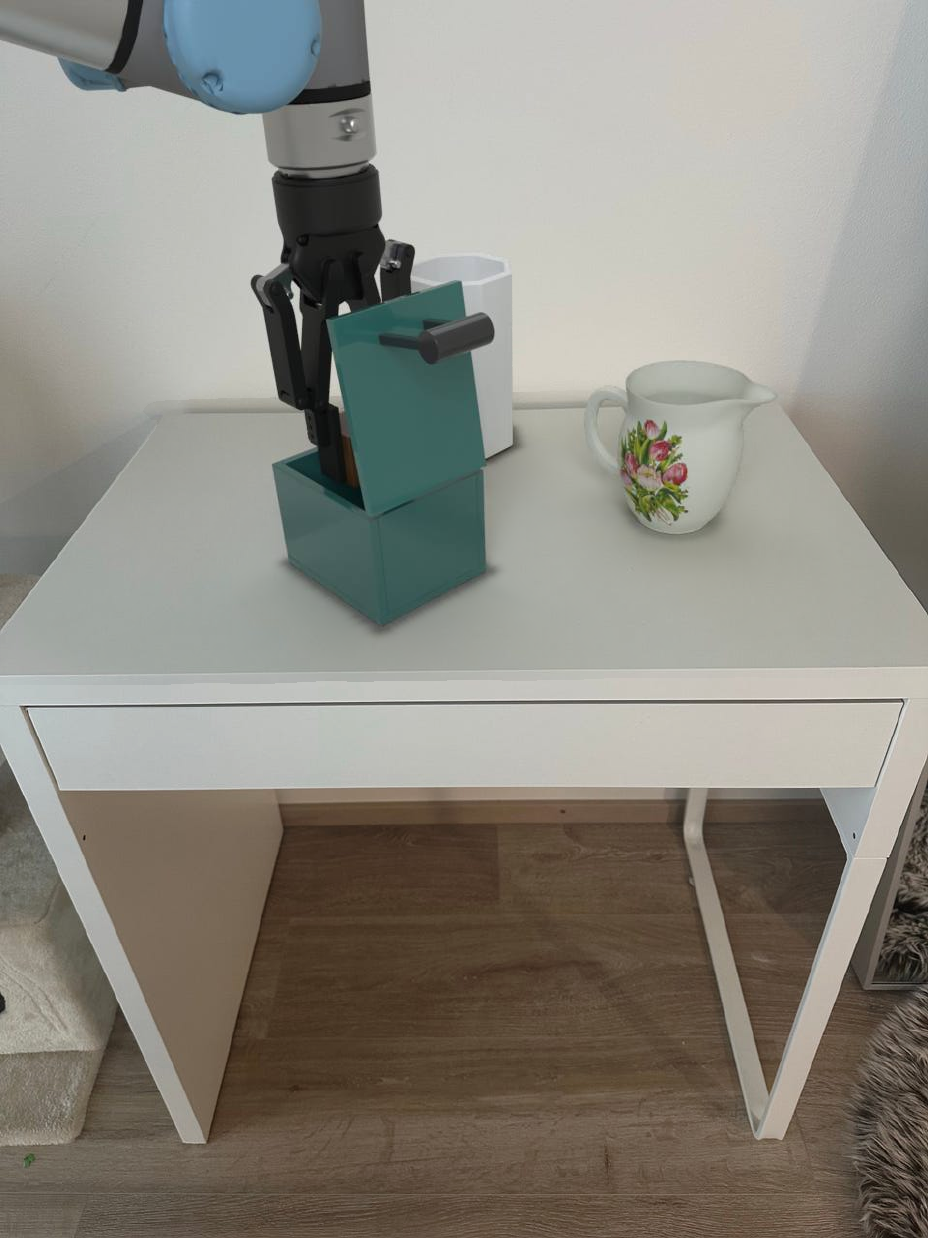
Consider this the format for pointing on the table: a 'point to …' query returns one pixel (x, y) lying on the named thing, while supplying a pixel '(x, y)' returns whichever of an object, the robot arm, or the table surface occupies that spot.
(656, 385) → the pitcher
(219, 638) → the table surface
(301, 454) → the tin
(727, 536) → the table surface
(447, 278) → the cup
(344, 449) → the block
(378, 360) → the lid
